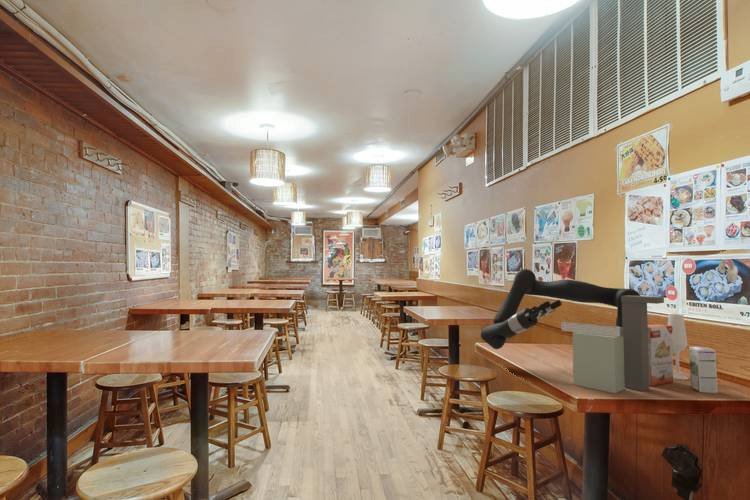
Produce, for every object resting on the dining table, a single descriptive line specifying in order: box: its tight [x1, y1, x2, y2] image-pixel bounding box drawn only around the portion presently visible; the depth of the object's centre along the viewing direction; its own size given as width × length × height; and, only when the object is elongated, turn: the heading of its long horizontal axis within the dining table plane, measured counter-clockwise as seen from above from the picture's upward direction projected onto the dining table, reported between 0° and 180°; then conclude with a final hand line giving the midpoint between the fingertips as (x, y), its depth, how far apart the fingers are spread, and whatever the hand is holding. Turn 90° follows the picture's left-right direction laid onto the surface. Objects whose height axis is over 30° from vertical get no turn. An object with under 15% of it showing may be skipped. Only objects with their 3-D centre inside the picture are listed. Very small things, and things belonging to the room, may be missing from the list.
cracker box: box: [648, 323, 674, 387], centre depth 155 cm, size 14×6×21 cm, turn 117°
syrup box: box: [688, 346, 719, 394], centre depth 145 cm, size 6×6×14 cm
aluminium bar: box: [560, 321, 623, 337], centre depth 151 cm, size 20×3×3 cm, turn 41°
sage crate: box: [572, 332, 626, 394], centre depth 149 cm, size 14×8×18 cm, turn 40°
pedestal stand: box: [621, 295, 665, 392], centre depth 146 cm, size 11×7×32 cm, turn 40°
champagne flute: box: [667, 313, 689, 381], centre depth 163 cm, size 7×7×24 cm
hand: (555, 302), depth 162 cm, fingers open, 8 cm apart
